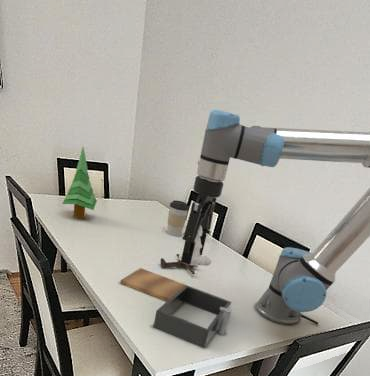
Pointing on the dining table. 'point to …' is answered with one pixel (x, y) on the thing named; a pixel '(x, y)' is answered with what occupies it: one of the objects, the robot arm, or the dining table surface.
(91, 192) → the decorative tree
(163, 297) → the board
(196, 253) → the white creature statuette
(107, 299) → the dining table surface
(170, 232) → the coffee cup
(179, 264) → the brown humanoid figurine
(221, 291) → the dining table surface
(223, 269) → the dining table surface
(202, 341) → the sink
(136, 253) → the dining table surface
